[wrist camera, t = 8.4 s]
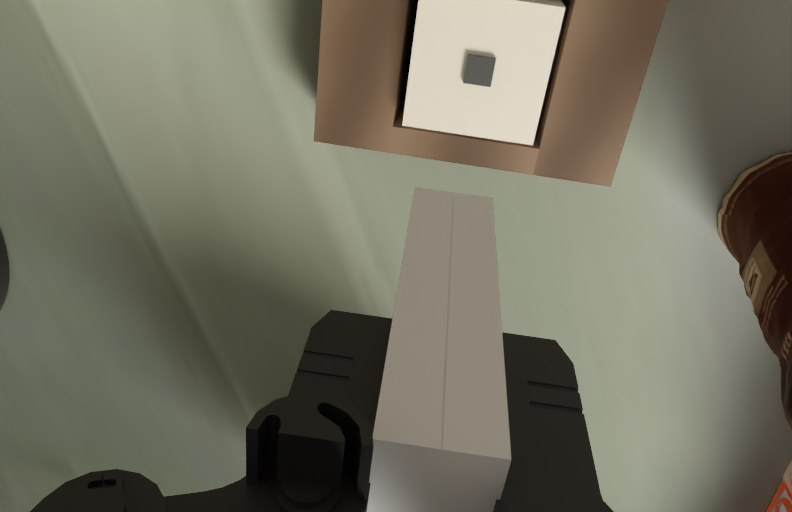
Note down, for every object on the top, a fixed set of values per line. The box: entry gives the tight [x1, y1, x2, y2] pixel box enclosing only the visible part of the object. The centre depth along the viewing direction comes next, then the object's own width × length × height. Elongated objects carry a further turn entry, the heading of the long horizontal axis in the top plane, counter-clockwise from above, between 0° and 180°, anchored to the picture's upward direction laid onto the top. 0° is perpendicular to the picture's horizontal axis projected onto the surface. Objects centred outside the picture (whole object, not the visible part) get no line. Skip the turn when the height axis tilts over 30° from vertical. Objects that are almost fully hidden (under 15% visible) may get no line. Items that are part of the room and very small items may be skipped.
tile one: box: [402, 0, 566, 145], centre depth 25 cm, size 5×5×3 cm
